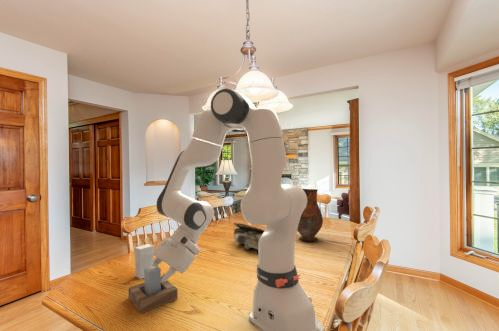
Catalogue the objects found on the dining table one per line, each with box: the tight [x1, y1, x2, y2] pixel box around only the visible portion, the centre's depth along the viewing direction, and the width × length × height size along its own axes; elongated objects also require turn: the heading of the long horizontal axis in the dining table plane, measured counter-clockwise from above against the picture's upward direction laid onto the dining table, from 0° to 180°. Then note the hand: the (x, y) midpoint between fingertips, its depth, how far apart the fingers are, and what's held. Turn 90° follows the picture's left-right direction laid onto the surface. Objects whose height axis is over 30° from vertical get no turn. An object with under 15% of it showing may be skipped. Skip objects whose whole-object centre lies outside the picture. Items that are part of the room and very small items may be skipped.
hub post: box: [143, 265, 162, 296], centre depth 85 cm, size 4×4×9 cm
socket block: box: [128, 279, 178, 314], centre depth 85 cm, size 12×12×4 cm
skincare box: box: [134, 243, 155, 280], centre depth 102 cm, size 6×4×12 cm
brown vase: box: [297, 188, 324, 243], centre depth 146 cm, size 17×21×30 cm
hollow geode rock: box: [233, 222, 265, 251], centre depth 134 cm, size 28×13×15 cm
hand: (157, 275), depth 85 cm, fingers open, 8 cm apart
